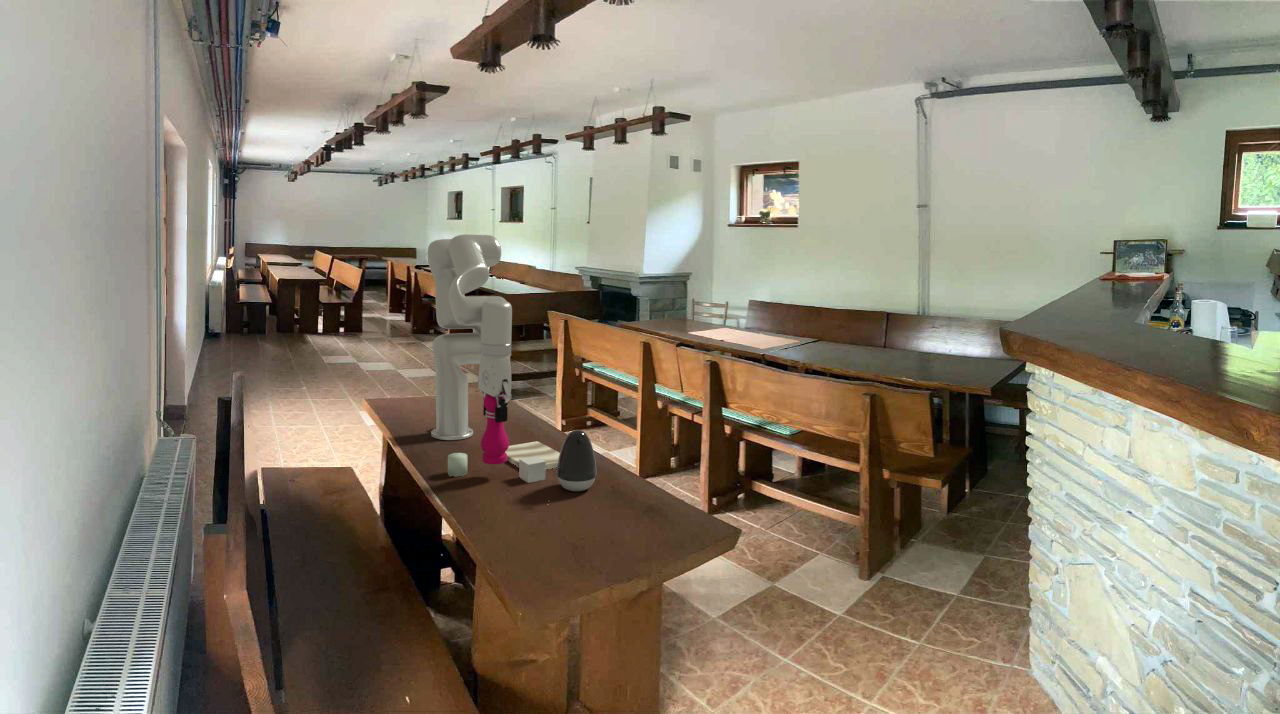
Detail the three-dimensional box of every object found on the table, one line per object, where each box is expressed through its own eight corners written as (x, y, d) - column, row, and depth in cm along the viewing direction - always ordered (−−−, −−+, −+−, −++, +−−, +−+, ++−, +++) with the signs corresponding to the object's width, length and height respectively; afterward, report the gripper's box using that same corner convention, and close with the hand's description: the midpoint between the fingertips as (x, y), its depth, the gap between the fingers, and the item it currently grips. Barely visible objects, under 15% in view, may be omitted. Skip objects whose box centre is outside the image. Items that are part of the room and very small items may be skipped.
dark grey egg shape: (559, 496, 181) (560, 436, 179) (553, 482, 191) (554, 425, 188) (600, 494, 184) (602, 435, 181) (591, 480, 194) (593, 424, 191)
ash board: (494, 453, 213) (494, 448, 212) (537, 446, 221) (537, 441, 221) (528, 473, 197) (528, 467, 197) (572, 464, 205) (573, 459, 205)
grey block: (519, 477, 194) (519, 459, 193) (536, 474, 197) (536, 456, 196) (528, 483, 190) (528, 464, 189) (545, 479, 193) (545, 461, 192)
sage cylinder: (444, 472, 195) (444, 454, 194) (462, 469, 198) (462, 451, 197) (452, 478, 191) (452, 459, 190) (470, 475, 194) (470, 456, 193)
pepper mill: (502, 466, 188) (503, 390, 184) (475, 463, 190) (476, 387, 186) (512, 457, 195) (514, 384, 191) (487, 454, 197) (488, 381, 193)
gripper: (467, 344, 191) (467, 411, 195) (498, 357, 178) (497, 429, 181) (494, 342, 195) (493, 408, 199) (525, 354, 182) (524, 425, 186)
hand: (495, 417), depth 190 cm, fingers closed on pepper mill, 5 cm apart
